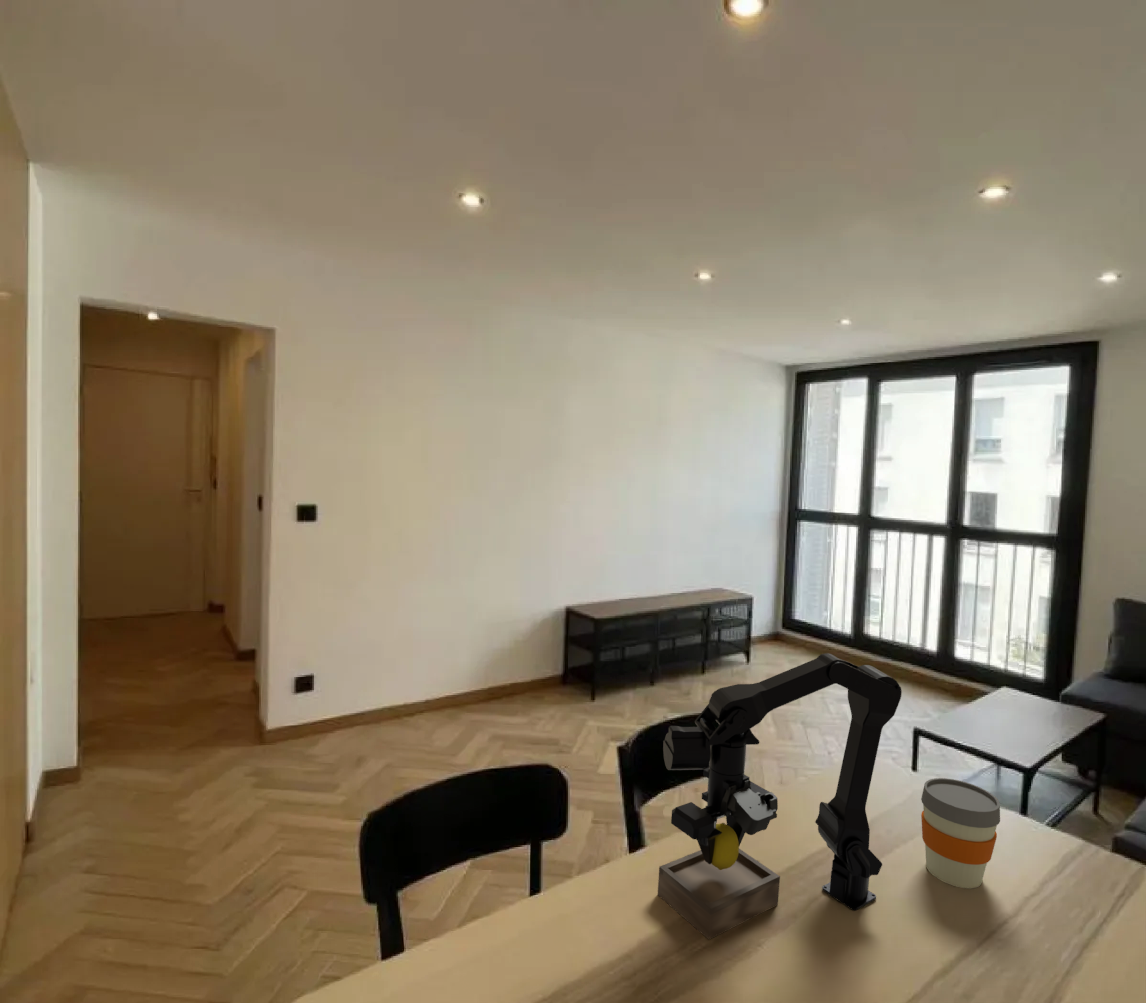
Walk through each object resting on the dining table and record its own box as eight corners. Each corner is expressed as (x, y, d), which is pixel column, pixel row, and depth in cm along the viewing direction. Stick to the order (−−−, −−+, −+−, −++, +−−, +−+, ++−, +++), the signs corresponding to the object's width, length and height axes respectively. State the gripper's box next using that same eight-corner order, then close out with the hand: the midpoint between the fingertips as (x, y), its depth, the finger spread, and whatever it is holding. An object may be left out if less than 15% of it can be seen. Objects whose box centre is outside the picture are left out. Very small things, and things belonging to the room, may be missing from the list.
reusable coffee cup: (979, 905, 116) (987, 820, 115) (903, 868, 125) (911, 790, 124) (1003, 876, 124) (1011, 798, 123) (931, 844, 133) (938, 771, 132)
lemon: (737, 882, 110) (741, 835, 109) (703, 876, 111) (706, 830, 111) (736, 862, 115) (739, 817, 115) (703, 857, 117) (706, 812, 116)
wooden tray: (724, 866, 123) (726, 839, 123) (777, 904, 113) (779, 876, 113) (657, 894, 114) (659, 866, 114) (708, 939, 104) (710, 908, 104)
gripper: (722, 804, 100) (716, 904, 101) (803, 775, 110) (796, 866, 112) (671, 772, 109) (666, 865, 111) (751, 748, 120) (745, 832, 121)
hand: (720, 857), depth 113 cm, fingers closed on lemon, 5 cm apart
